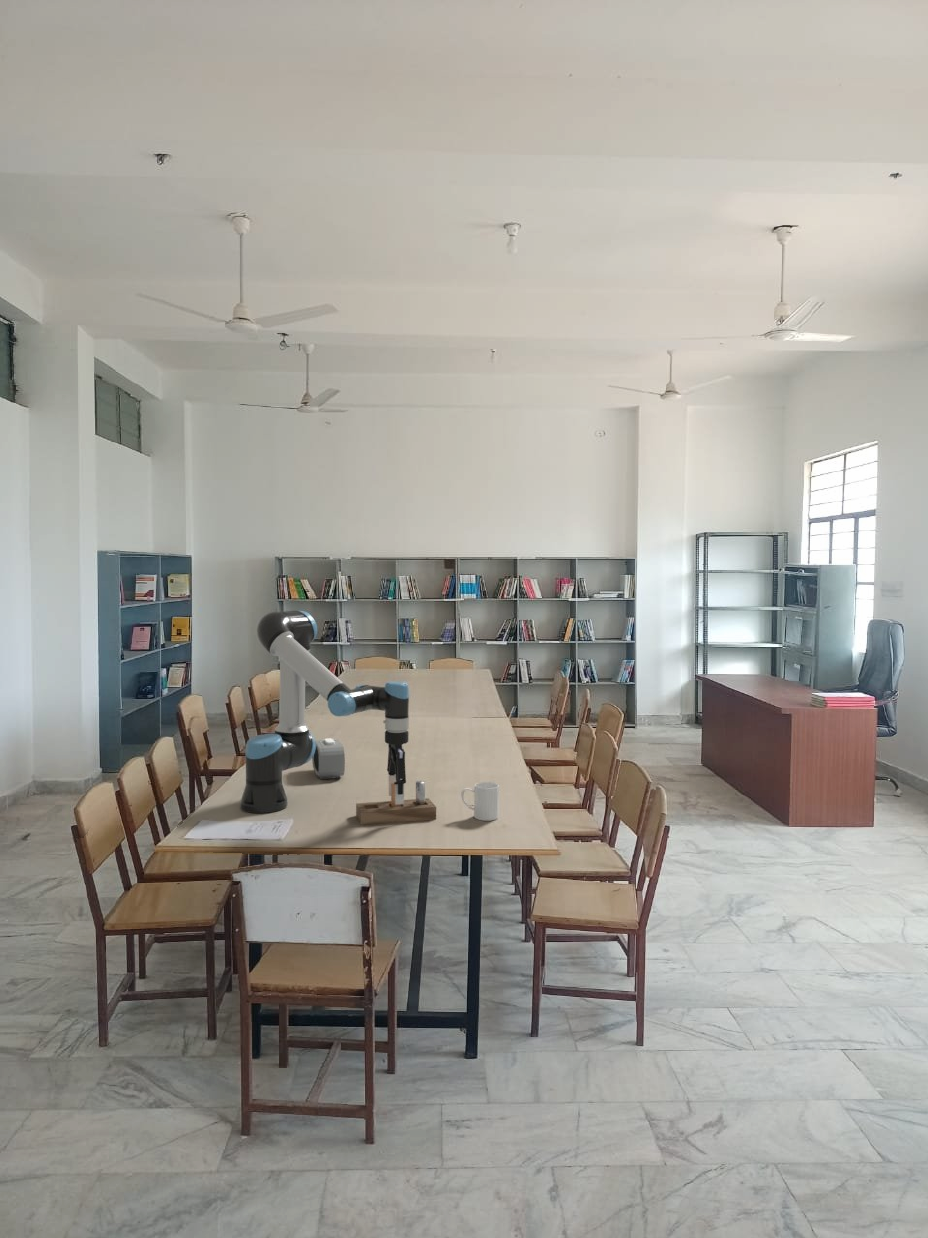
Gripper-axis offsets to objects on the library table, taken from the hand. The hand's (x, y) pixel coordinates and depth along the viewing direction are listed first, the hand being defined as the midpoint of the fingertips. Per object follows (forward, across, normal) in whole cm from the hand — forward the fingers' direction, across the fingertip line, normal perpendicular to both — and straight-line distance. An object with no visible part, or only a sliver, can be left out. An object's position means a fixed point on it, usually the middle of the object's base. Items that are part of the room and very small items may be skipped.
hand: (396, 799), depth 263 cm
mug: (+6, +7, +26) cm, 28 cm away
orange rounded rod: (+6, 0, 0) cm, 6 cm away
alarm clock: (+6, -60, -14) cm, 62 cm away
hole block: (+6, 0, 0) cm, 6 cm away
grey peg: (+6, 0, +8) cm, 10 cm away
